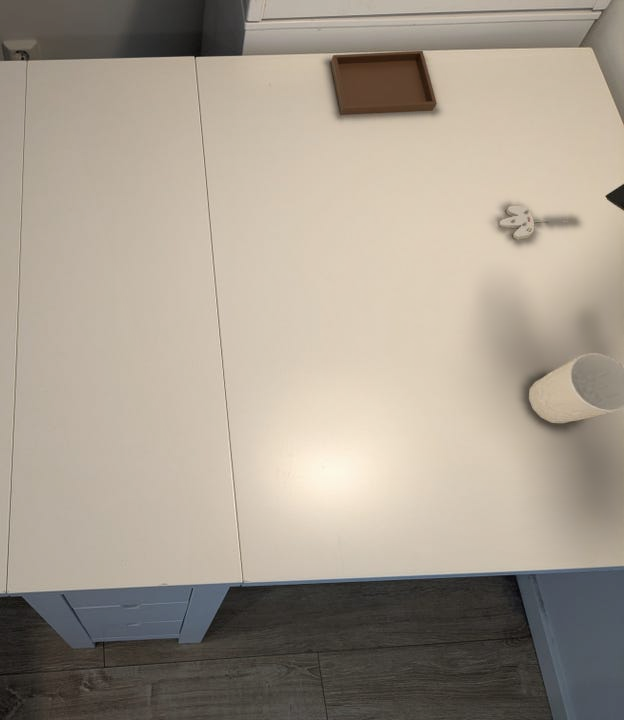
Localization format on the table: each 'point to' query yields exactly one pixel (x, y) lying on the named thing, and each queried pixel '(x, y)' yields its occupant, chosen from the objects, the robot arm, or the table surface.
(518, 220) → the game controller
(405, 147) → the table surface
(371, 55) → the tray
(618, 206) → the robot arm
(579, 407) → the white cup
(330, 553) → the table surface
